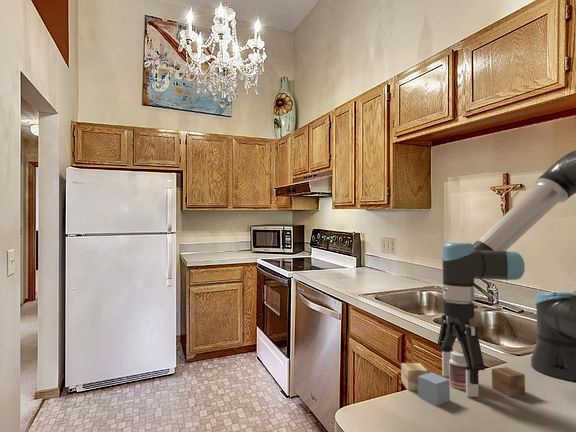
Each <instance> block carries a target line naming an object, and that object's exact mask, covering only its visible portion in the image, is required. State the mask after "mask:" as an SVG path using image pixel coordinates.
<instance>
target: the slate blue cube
mask: <svg viewBox="0 0 576 432" xmlns="http://www.w3.org/2000/svg"><path fill="white" fill-rule="evenodd" d="M450 386H451V385H450V381H449V378H446V377H445V376H443V375H440V374H436V373H435V372H433V371H432V372H428V373H427V374H424V375H421V376H418V390H417V393H418V394H417V395H418V398H420V399H421V400H424V401H425V402H428V403H430V404H431V405H433V406H436V407H437V406H439V405H442V404H444V403H447V402H449V401H450V399H451V398H450V395H451V393H450V389H451V387H450Z"/></svg>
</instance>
